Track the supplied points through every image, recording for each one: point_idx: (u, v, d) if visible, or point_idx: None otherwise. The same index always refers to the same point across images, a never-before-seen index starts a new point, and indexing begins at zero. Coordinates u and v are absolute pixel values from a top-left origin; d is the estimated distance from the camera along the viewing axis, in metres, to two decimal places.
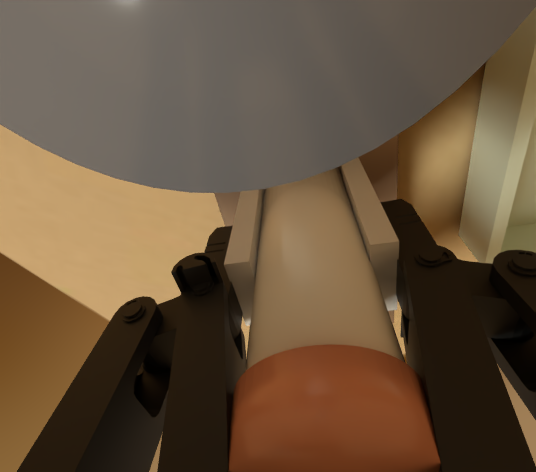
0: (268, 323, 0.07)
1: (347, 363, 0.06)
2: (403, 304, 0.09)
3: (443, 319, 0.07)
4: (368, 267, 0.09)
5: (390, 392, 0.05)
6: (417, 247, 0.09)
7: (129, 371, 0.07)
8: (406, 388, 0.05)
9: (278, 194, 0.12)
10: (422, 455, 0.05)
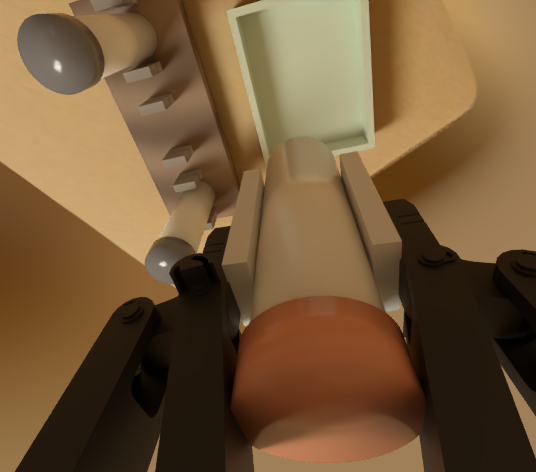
0: (269, 285, 0.08)
1: (335, 309, 0.07)
2: (406, 304, 0.09)
3: (446, 319, 0.07)
4: (358, 242, 0.10)
5: (370, 331, 0.06)
6: (420, 247, 0.08)
7: (127, 371, 0.07)
8: (385, 330, 0.07)
9: (277, 181, 0.13)
10: (394, 375, 0.06)
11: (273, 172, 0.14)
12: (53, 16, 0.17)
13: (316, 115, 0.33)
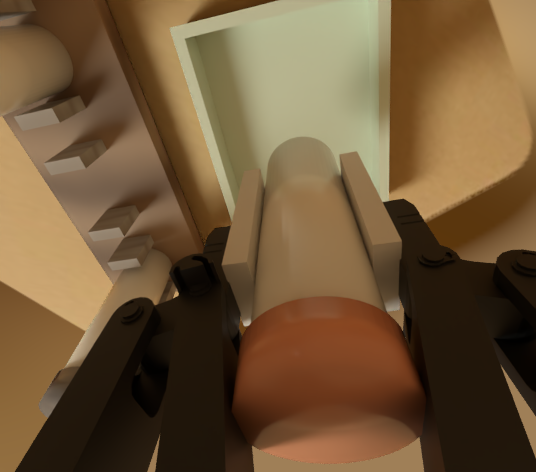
0: (270, 286, 0.08)
1: (337, 309, 0.07)
2: (406, 304, 0.09)
3: (446, 319, 0.07)
4: (359, 242, 0.10)
5: (372, 331, 0.06)
6: (420, 247, 0.08)
7: (127, 372, 0.07)
8: (386, 330, 0.07)
9: (278, 181, 0.13)
10: (397, 376, 0.06)
11: (274, 172, 0.14)
12: None
13: None
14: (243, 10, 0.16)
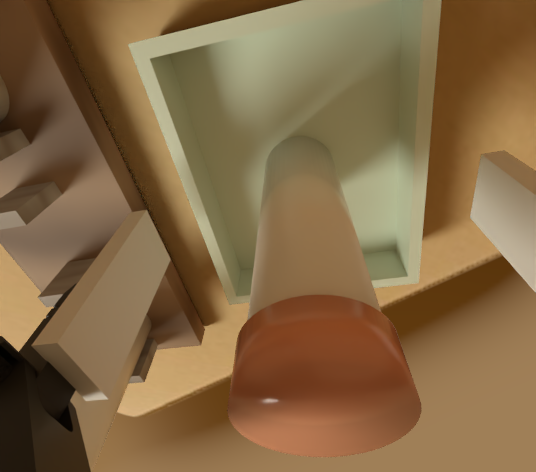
0: (266, 284, 0.08)
1: (329, 307, 0.07)
2: None
3: None
4: (353, 241, 0.10)
5: (364, 328, 0.06)
6: None
7: None
8: (378, 327, 0.07)
9: (275, 181, 0.13)
10: (386, 371, 0.06)
11: (271, 172, 0.14)
12: None
13: None
14: (230, 20, 0.11)
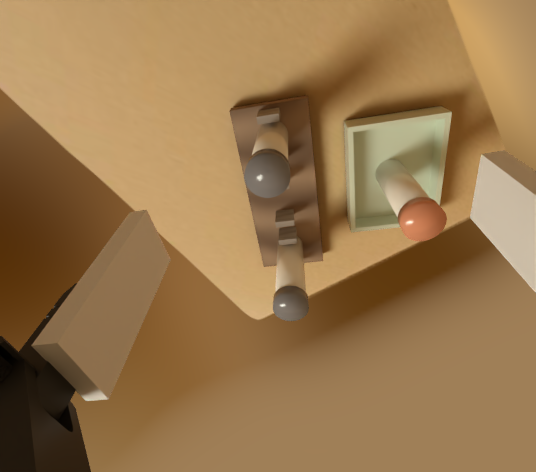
0: (405, 198, 0.32)
1: (426, 199, 0.31)
2: None
3: None
4: None
5: (434, 202, 0.31)
6: None
7: None
8: (437, 203, 0.31)
9: (391, 175, 0.37)
10: (440, 208, 0.30)
11: (386, 172, 0.38)
12: (275, 156, 0.27)
13: None
14: (383, 122, 0.36)
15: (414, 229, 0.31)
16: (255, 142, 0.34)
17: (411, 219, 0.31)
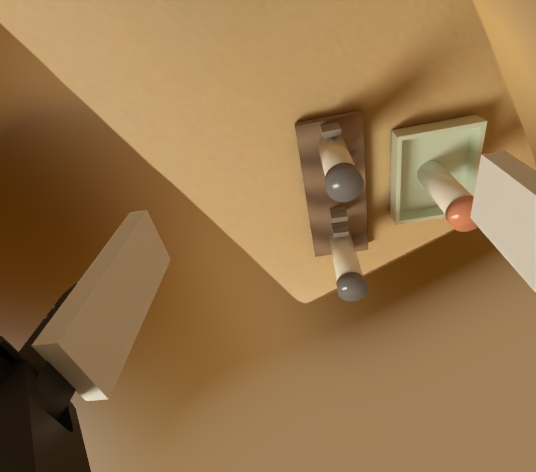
0: (451, 196, 0.39)
1: (471, 197, 0.38)
2: None
3: None
4: None
5: None
6: None
7: None
8: None
9: (435, 175, 0.44)
10: None
11: (429, 172, 0.45)
12: (353, 169, 0.34)
13: None
14: (428, 131, 0.42)
15: (460, 222, 0.38)
16: (323, 154, 0.40)
17: (458, 214, 0.38)
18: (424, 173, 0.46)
